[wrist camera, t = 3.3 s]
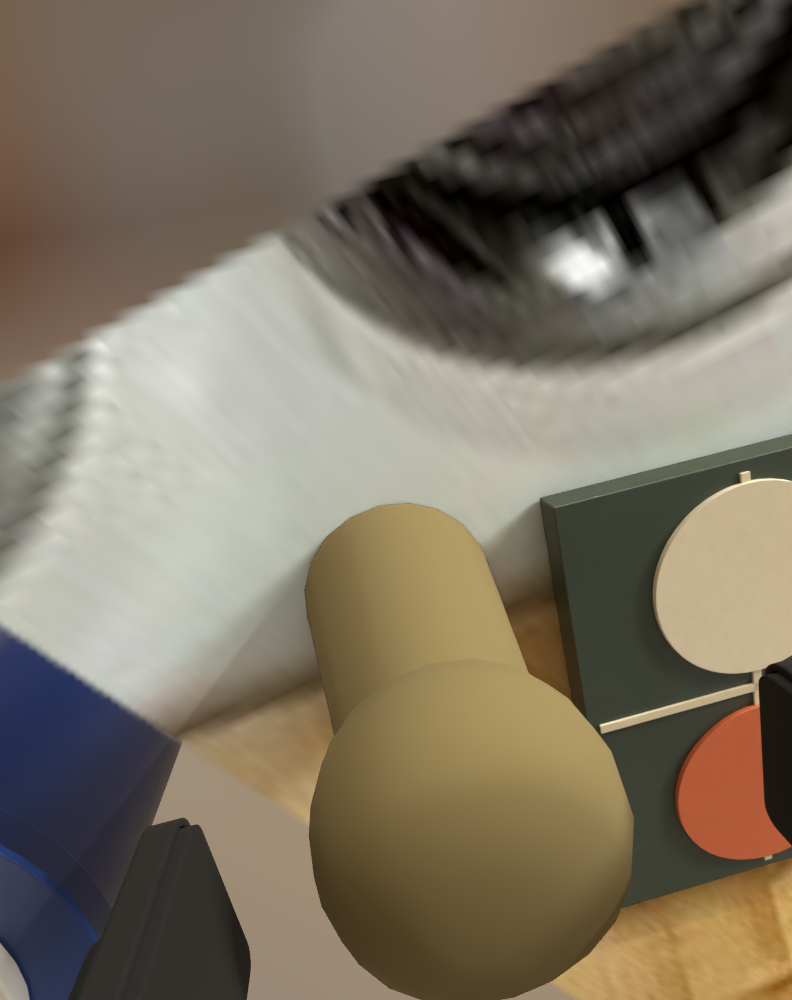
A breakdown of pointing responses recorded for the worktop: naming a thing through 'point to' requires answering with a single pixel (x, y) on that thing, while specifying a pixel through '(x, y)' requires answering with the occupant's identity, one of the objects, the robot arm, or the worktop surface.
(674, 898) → the worktop surface
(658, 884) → the board
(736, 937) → the worktop surface
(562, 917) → the cork
